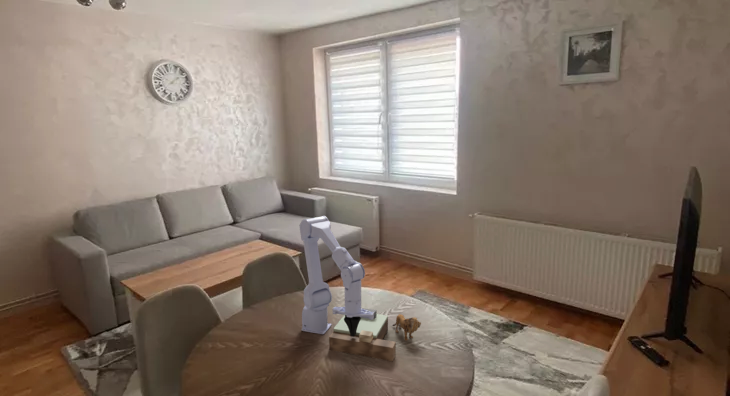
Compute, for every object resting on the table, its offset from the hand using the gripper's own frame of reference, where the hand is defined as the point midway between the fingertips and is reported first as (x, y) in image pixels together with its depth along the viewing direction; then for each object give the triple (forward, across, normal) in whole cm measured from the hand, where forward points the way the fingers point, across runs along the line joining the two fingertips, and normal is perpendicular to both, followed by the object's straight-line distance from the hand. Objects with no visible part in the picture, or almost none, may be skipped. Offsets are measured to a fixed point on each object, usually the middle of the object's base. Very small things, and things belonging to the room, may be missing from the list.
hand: (353, 335), depth 146 cm
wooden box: (+6, +3, +8) cm, 11 cm away
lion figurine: (+6, +15, +17) cm, 23 cm away
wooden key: (+1, +5, 0) cm, 5 cm away
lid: (+1, 0, +10) cm, 10 cm away
